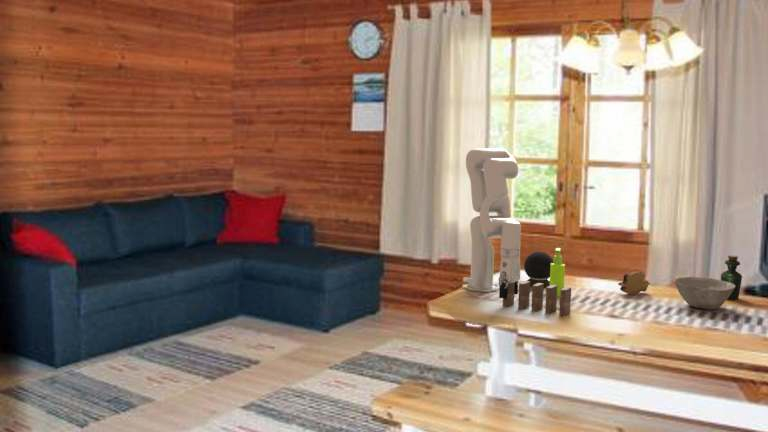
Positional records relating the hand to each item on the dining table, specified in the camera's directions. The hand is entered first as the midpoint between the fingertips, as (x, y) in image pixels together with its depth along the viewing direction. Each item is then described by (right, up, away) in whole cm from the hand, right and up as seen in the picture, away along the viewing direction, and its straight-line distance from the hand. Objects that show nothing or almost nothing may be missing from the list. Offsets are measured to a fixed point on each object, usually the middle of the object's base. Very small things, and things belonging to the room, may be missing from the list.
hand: (508, 295), depth 293 cm
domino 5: (+19, -6, -12) cm, 23 cm away
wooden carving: (+57, -2, +24) cm, 61 cm away
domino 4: (+14, -5, -9) cm, 18 cm away
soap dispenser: (+23, -2, +19) cm, 30 cm away
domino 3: (+10, -5, -6) cm, 13 cm away
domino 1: (0, -4, 0) cm, 4 cm away
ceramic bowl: (+77, -5, +3) cm, 78 cm away
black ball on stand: (+20, +1, +39) cm, 43 cm away
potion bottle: (+96, -3, +20) cm, 98 cm away
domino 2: (+5, -4, -3) cm, 7 cm away
